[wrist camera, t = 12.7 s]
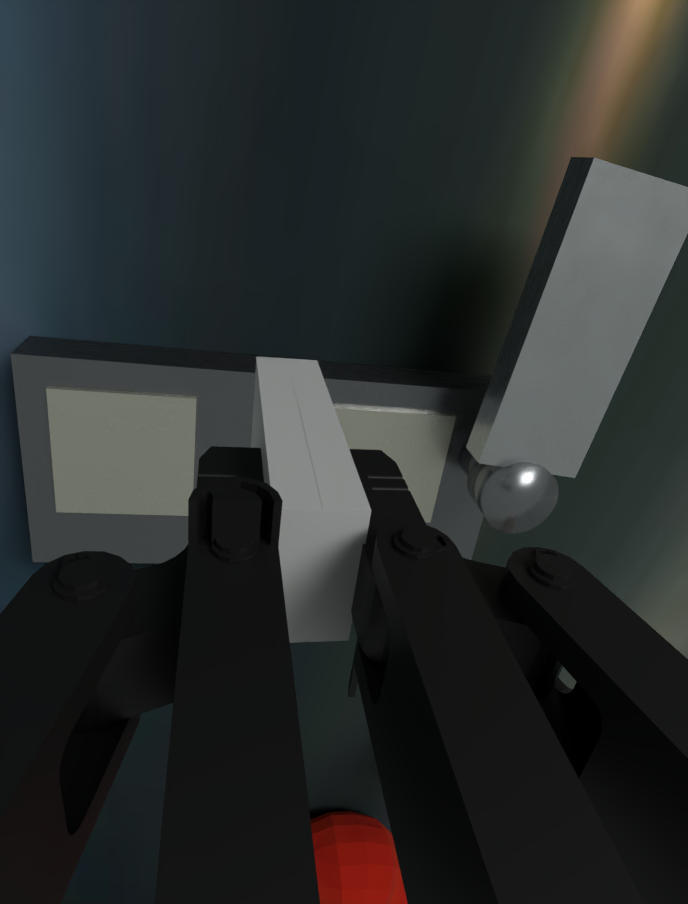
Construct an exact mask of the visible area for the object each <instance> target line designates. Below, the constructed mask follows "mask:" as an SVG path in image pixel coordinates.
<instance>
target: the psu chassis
mask: <svg viewBox="0 0 688 904" xmlns="http://www.w3.org/2000/svg"><path fill="white" fill-rule="evenodd" d="M256 357H271V356H259V355H247V354H236V353H224V352H212V351H201V350H189V349H177V348H166V347H154V346H142V345H130V344H119V343H107V342H95V341H84V340H72V339H60V338H49V337H37V336H29V337H28V338H27V339H26V340H25V341H24V342H23V343H22V344H21V345H19V346H18V347H17V348H16V349H15V350H14V351H13V352H12V353H11V362H12V371H13V381H14V390H15V400H16V409H17V418H18V428H19V437H20V447H21V456H22V465H23V475H24V484H25V494H26V503H27V512H28V522H29V531H30V541H31V550H32V559H33V562H50V561H53V560H55V559H57V558H59V557H61V556H64V555H67V554H72V553H77V552H82V551H104V552H107V553H111V554H114V555H118V556H120V557H122V558H123V559H124V560H126V561H127V562H128V563H163V562H165V561H167V560H169V559H171V558H173V557H175V556H177V555H178V554H179V553H180V552H182V551H183V550H184V549H185V548H186V546H187V545H188V500H189V497H190V495H191V493H192V491H193V490H194V489H195V488H197V476H198V466H199V458H200V457H201V456H202V455H203V454H204V453H205V452H206V451H207V450H208V449H209V448H210V447H211V446H219V447H250V448H251V438H252V421H253V404H254V387H255V369H256ZM271 358H282V357H271ZM287 359H294V358H287ZM303 360H306V359H303ZM317 362H318V364H319V367H320V370H321V373H322V375H323V378H324V381H325V384H326V386H327V389H328V392H329V395H330V397H331V400H332V403H333V406H334V408H335V411H336V414H337V417H338V420H339V422H340V425H341V428H342V431H343V433H344V436H345V439H346V442H347V444H348V447H349V449H368V450H382V451H383V452H384V453H385V454H386V455H388V456H389V457H390V458H391V459H393V460H394V461H395V462H396V463H397V465H398V467H399V469H400V471H401V473H402V476H403V479H404V480H405V482H406V484H407V486H408V490H409V491H410V492H411V494H412V496H413V498H414V500H415V502H416V504H417V506H418V508H419V511H420V513H421V515H422V517H423V519H424V521H425V523H426V525H428V526H430V527H433V528H436V529H438V530H439V531H441V532H442V533H444V534H445V535H447V536H448V537H449V538H450V539H451V540H452V541H453V543H454V544H455V545H456V547H457V548H458V550H459V552H460V554H461V556H462V557H463V558H466V559H469V560H471V558H472V555H473V551H474V548H475V544H476V541H477V537H478V534H479V530H480V527H481V523H482V520H483V516H484V515H483V513H482V512H481V511H480V509H479V508H478V506H477V505H476V503H475V502H474V500H473V499H472V498H471V496H470V494H469V492H468V488H467V479H468V474H469V471H470V469H471V467H472V466H473V464H474V463H475V461H476V459H475V458H474V457H473V456H472V454H471V453H470V452H469V451H468V449H467V448H466V446H467V443H468V440H469V437H470V435H471V432H472V429H473V426H474V424H475V421H476V418H477V415H478V413H479V410H480V407H481V404H482V402H483V399H484V396H485V393H486V391H487V388H488V385H489V382H490V380H491V377H492V375H481V374H470V373H458V372H446V371H435V370H423V369H411V368H399V367H388V366H376V365H364V364H353V363H341V362H329V361H318V360H317Z"/></svg>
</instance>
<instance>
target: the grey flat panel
mask: <svg viewBox="0 0 688 904" xmlns="http://www.w3.org/2000/svg"><path fill="white" fill-rule="evenodd" d="M687 233H688V187H685V186H682V185H679V184H676V183H673V182H670V181H666V180H663V179H660V178H657V177H654V176H651V175H647V174H644V173H641V172H638V171H635V170H632V169H628V168H625V167H622V166H619V165H616V164H612V163H609V162H606V161H603V160H600V159H597V158H584V157H571V160H570V163H569V165H568V168H567V171H566V174H565V176H564V179H563V182H562V185H561V187H560V190H559V193H558V196H557V198H556V201H555V204H554V207H553V209H552V212H551V215H550V218H549V220H548V223H547V226H546V229H545V231H544V234H543V237H542V240H541V242H540V245H539V248H538V251H537V253H536V256H535V259H534V261H533V264H532V267H531V270H530V272H529V275H528V278H527V281H526V283H525V286H524V289H523V292H522V294H521V297H520V300H519V303H518V305H517V308H516V311H515V314H514V316H513V319H512V322H511V325H510V327H509V330H508V333H507V336H506V338H505V341H504V344H503V347H502V349H501V352H500V355H499V358H498V360H497V363H496V366H495V369H494V371H493V374H492V377H491V380H490V382H489V385H488V388H487V391H486V393H485V396H484V399H483V402H482V404H481V407H480V410H479V413H478V415H477V418H476V421H475V424H474V426H473V429H472V432H471V435H470V437H469V440H468V443H467V446H466V448H467V449H468V451H469V452H470V453H471V454H472V456H473V457H474V458H475V459H476V461H475V463H474V464H473V466H472V467H471V469H470V471H469V474H468V479H467V488H468V492H469V494H470V496H471V498H472V499H473V500H474V502H475V503H476V505H477V506H478V508H479V509H480V511H481V512H482V513H483V515H484V516H485V518H486V519H487V521H488V522H489V524H490V525H491V526H492V527H494V528H495V529H497V530H499V531H501V532H504V533H521V532H525V531H528V530H530V529H532V528H534V527H536V526H538V525H539V524H540V523H542V522H543V521H544V520H545V519H546V518H547V517H548V516H549V515H550V514H551V512H552V511H553V509H554V507H555V505H556V503H557V499H558V493H559V491H558V484H557V482H556V480H555V478H554V477H553V475H559V476H566V477H573V478H575V477H576V475H577V473H578V471H579V468H580V466H581V464H582V462H583V460H584V457H585V455H586V453H587V451H588V449H589V447H590V444H591V442H592V440H593V438H594V436H595V434H596V431H597V429H598V427H599V425H600V423H601V420H602V418H603V416H604V414H605V412H606V410H607V407H608V405H609V403H610V401H611V399H612V397H613V394H614V392H615V390H616V388H617V386H618V383H619V381H620V379H621V377H622V375H623V373H624V370H625V368H626V366H627V364H628V362H629V360H630V357H631V355H632V353H633V351H634V349H635V347H636V344H637V342H638V340H639V338H640V336H641V333H642V331H643V329H644V327H645V325H646V323H647V320H648V318H649V316H650V314H651V312H652V310H653V307H654V305H655V303H656V301H657V299H658V296H659V294H660V292H661V290H662V288H663V286H664V283H665V281H666V279H667V277H668V275H669V273H670V270H671V268H672V266H673V264H674V262H675V259H676V257H677V255H678V253H679V251H680V249H681V246H682V244H683V242H684V240H685V238H686V236H687ZM552 474H553V475H552Z"/></svg>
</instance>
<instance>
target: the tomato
mask: <svg viewBox="0 0 688 904" xmlns="http://www.w3.org/2000/svg"><path fill="white" fill-rule="evenodd" d="M310 821H311V829H312V838H313V846H314V855H315V863H316V872H317V880H318V889H319V898H320V904H407V898H406V894H405V889H404V885H403V881H402V876H401V872H400V867H399V863H398V858H397V854H396V849H395V845H394V840H393V836H392V834H391V833H390V831H389V830H388V829H386V828H385V827H384V826H383V825H382V824H381V823H380V822H379V821H378V820H377V819H375V818H373V817H370V816H367V815H363V814H360V813H356V812H352V811H341V812H328V813H326V814H324V815H321V816H318V817H315V818H312V819H310Z"/></svg>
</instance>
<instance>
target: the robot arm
mask: <svg viewBox="0 0 688 904" xmlns="http://www.w3.org/2000/svg"><path fill="white" fill-rule="evenodd" d="M352 618H353V621H354V625H355V629H356V633H357V637H358V638H357V643H356V648H355V654H354V659H353V665H352V670H351V675H350V681H349V689H348V697H355V692H356V687H357V683H358V684H359V689H360V693H361V698H362V702H363V706H364V711H365V715H366V720H367V724H368V729H369V733H370V738H371V742H372V747H373V751H374V756H375V760H376V764H377V769H378V773H379V778H380V782H381V787H382V791H383V796H384V800H385V805H386V809H387V814H388V818H389V822H390V827H391V831H392V836H393V840H394V845H395V849H396V854H397V858H398V863H399V867H400V872H401V876H402V881H403V885H404V889H405V894H406V898H407V903H408V904H688V659H687V658H686V657H684V656H683V655H682V654H681V653H680V652H679V651H678V650H676V649H675V648H674V647H673V646H672V645H671V644H670V643H669V642H667V641H666V640H665V639H664V638H663V637H662V636H661V635H660V634H658V633H657V632H656V631H655V630H654V629H653V628H652V627H651V626H649V625H648V624H647V623H646V622H645V621H644V620H643V619H642V618H640V617H639V616H638V615H637V614H636V613H635V612H634V611H632V610H631V609H630V608H629V607H628V606H627V605H626V604H625V603H623V602H622V601H621V600H620V599H619V598H618V597H617V596H616V595H614V594H613V593H612V592H611V591H610V590H609V589H608V588H607V587H605V586H604V585H603V584H602V583H601V582H600V581H599V580H598V579H596V578H595V577H594V576H593V575H592V574H591V573H590V572H588V571H587V570H586V569H585V568H584V567H583V566H581V565H580V564H579V563H577V562H576V561H574V560H573V559H571V558H570V557H568V556H566V555H563V554H561V553H559V552H557V551H554V550H550V549H545V548H540V547H528V548H522V549H519V550H517V551H514V552H513V553H512V555H511V556H510V558H509V559H508V562H507V565H506V568H504V567H500V566H495V565H490V564H485V563H481V562H476V561H473V560H469V559H466V558H463V557H462V556H461V554H460V552H459V550H458V548H457V547H456V545H455V544H454V543H453V541H452V540H451V539H450V538H449V537H448V536H447V535H445V534H444V533H442V532H441V531H439V530H438V529H436V528H433V527H430V526H428V525H426V523H425V521H424V519H423V517H422V515H421V513H420V511H419V508H418V506H417V504H416V502H415V500H414V498H413V496H412V494H411V492H410V491H409V490H408V486H407V484H406V482H405V480H404V479H403V476H402V473H401V471H400V469H399V467H398V465H397V463H396V462H395V461H394V460H393V459H391V458H390V457H389V456H388V455H386V454H385V453H384V452H383V451H382V450H368V449H349V447H348V444H347V442H346V439H345V436H344V433H343V431H342V428H341V425H340V422H339V420H338V417H337V414H336V411H335V408H334V406H333V403H332V400H331V397H330V395H329V392H328V389H327V386H326V384H325V381H324V378H323V375H322V373H321V370H320V367H319V364H318V362H317V360H303V359H287V358H271V357H256V369H255V387H254V404H253V421H252V438H251V448H250V447H219V446H211V447H210V448H209V449H208V450H207V451H206V452H205V453H204V454H203V455H202V456H201V457H200V458H199V466H198V476H197V488H195V489H194V490H193V491H192V493H191V495H190V497H189V500H188V545H187V546H186V548H185V549H184V550H183V551H182V552H180V553H179V554H178V555H177V556H175V557H173V558H171V559H169V560H167V561H165V562H163V563H160V564H157V565H153V566H150V567H146V568H141V569H137V570H133V569H132V566H131V564H129V563H128V562H127V561H126V560H124V559H123V558H122V557H120V556H118V555H114V554H111V553H107V552H104V551H82V552H77V553H72V554H67V555H64V556H61V557H59V558H57V559H55V560H53V561H50V562H48V563H46V564H45V565H44V566H43V567H41V568H40V569H39V570H38V571H37V572H35V573H34V574H33V575H32V576H31V577H30V579H29V580H28V581H27V582H26V583H25V585H24V586H23V587H22V588H21V589H20V591H19V592H18V593H17V594H16V596H15V597H14V598H13V599H12V600H11V602H10V603H9V604H8V605H7V606H6V608H5V609H4V610H3V611H2V612H1V614H0V904H60V903H61V901H62V899H63V896H64V894H65V892H66V889H67V887H68V885H69V883H70V880H71V878H72V876H73V873H74V871H75V869H76V866H77V864H78V862H79V859H80V857H81V855H82V853H83V850H84V848H85V846H86V843H87V841H88V839H89V836H90V834H91V832H92V830H93V827H94V825H95V823H96V820H97V818H98V816H99V813H100V811H101V809H102V806H103V804H104V802H105V800H106V797H107V795H108V793H109V790H110V788H111V786H112V783H113V781H114V779H115V777H116V774H117V772H118V770H119V767H120V765H121V763H122V760H123V758H124V756H125V753H126V751H127V749H128V747H129V744H130V742H131V740H132V737H133V735H134V733H135V730H136V728H137V726H138V724H139V720H140V715H141V713H144V712H147V711H150V710H153V709H156V708H159V707H162V706H165V705H168V704H171V703H173V713H172V724H171V734H170V745H169V755H168V766H167V777H166V787H165V798H164V808H163V819H162V829H161V840H160V851H159V861H158V872H157V882H156V893H155V903H154V904H320V898H319V889H318V880H317V872H316V863H315V855H314V846H313V838H312V829H311V821H310V812H309V804H308V795H307V787H306V778H305V769H304V761H303V752H302V744H301V735H300V727H299V718H298V710H297V701H296V693H295V684H294V676H293V667H292V658H291V650H290V643H292V642H319V641H347V640H349V635H350V629H351V623H352ZM562 667H564V668H565V669H566V670H567V671H568V672H569V673H570V674H571V676H572V677H573V678H574V679H575V680H576V681H577V682H576V685H575V687H574V689H570V688H568V687H567V686H566V685H565V684H564V683H563V682H562V681H561V680H560V679H559V678H558V677H559V674H560V672H561V670H562Z"/></svg>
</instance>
